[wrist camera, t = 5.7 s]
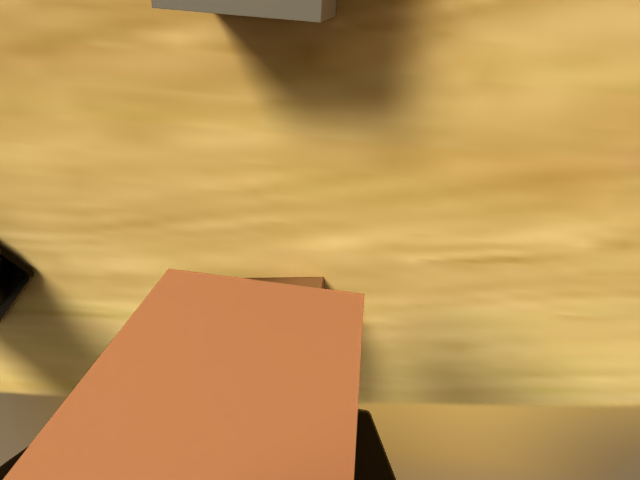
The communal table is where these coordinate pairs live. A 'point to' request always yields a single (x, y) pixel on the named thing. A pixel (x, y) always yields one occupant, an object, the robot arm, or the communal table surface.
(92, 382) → the terracotta block
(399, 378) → the communal table surface
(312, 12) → the gray block
